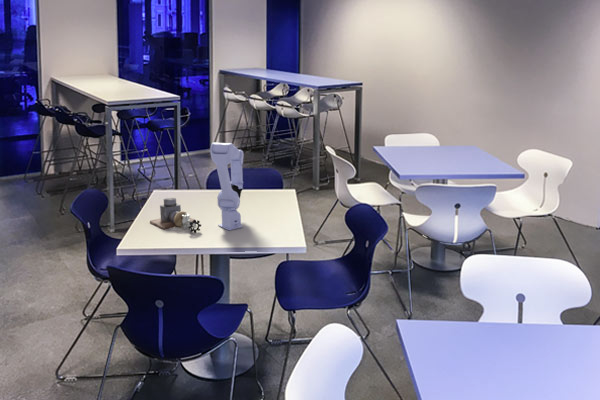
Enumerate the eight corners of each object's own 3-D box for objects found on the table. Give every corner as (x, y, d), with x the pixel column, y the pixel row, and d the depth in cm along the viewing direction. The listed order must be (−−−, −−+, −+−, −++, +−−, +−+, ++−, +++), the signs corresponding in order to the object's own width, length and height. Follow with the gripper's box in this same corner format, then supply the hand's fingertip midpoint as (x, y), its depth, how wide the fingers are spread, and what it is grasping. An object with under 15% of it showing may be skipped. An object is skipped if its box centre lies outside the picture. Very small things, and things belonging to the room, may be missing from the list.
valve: (177, 228, 304) (189, 234, 294) (177, 214, 302) (188, 221, 293) (190, 225, 307) (201, 231, 298) (189, 212, 306) (201, 218, 296)
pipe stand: (198, 223, 310) (197, 200, 307) (165, 230, 299) (164, 207, 296) (181, 215, 322) (180, 194, 319) (149, 222, 311) (148, 200, 308)
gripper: (225, 170, 320) (226, 196, 323) (232, 177, 306) (233, 203, 310) (238, 169, 322) (239, 195, 326) (246, 175, 309) (247, 202, 313)
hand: (237, 199), depth 318 cm, fingers closed
